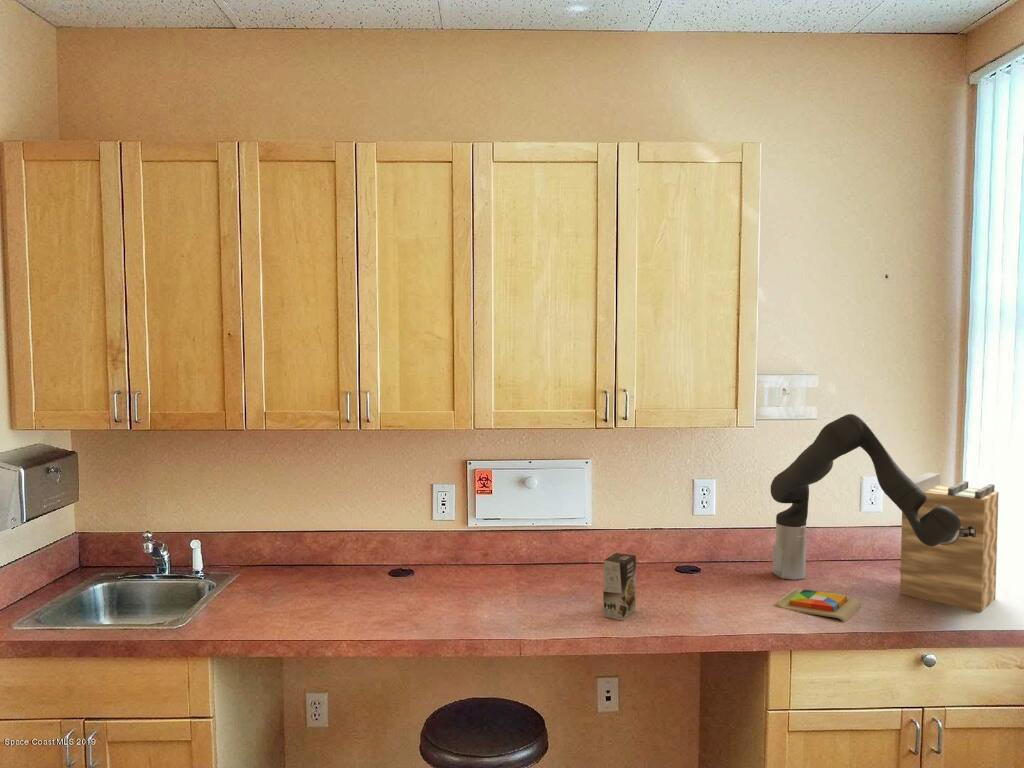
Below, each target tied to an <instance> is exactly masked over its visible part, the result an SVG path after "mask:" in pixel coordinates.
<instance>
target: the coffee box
mask: <svg viewBox="0 0 1024 768" xmlns="http://www.w3.org/2000/svg"><path fill="white" fill-rule="evenodd" d="M636 570H637V555H634V554H628V553H627V554H626V553H619V552H615V553H613V554H612V555H610V556H609V557H606V558H605V559H603V583H602V584H603V585H602V586H603V589H602V590H603V591H602V592H603V599H602V600H603V602H602V603H603V606H602V608H603V609H602V610H603V612H602V616H603V617H605V618H609V619H613V620H618V621H622V622H623V621H625V620H626V619H627V618H629V617H630V616H631V615H633V614H634V613H635V612H636V605H637V603H636V602H637V601H636V598H637V597H636V596H637V595H636V593H637V592H636V591H637V588H636V583H637V582H636V580H637V575H636V573H637V571H636Z"/></svg>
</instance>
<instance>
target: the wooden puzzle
mask: <svg viewBox="0 0 1024 768" xmlns="http://www.w3.org/2000/svg"><path fill="white" fill-rule="evenodd" d="M862 604H863V603H862V601H860V600H859V599H858V598H854V597H848V595H847V594H840V593H834V592H833V593H831V592H826V591H824V592H823V591H818V590H810V589H803V590H801V589H800V588H799V587H795V588H793V589H792V590H790V591H789V592H787V593H786V594H785V595H783V596H781V597H780V599H778V600H777V606H778V607H779V608H780V607H782V608H781V609H783V608H786V609H785V610H788V609H790V610H789V611H792V610H795V611H794V612H797V611H799V612H798V613H801V612H804V613H803V614H807V613H808V614H810V615H816V616H821V617H822V616H823V617H829V618H835V619H838V620H841V621H842V622H844V623H846V622H848V621H849V620H850V619H851V618H852V617H853V616H854V615H855V614H856V613H857V612H858V611H859V610H860V609H861V608H862V607H861V606H862ZM859 608H860V609H859ZM856 611H857V612H856ZM855 612H856V613H855Z"/></svg>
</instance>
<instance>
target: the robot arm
mask: <svg viewBox="0 0 1024 768" xmlns="http://www.w3.org/2000/svg"><path fill="white" fill-rule="evenodd" d="M858 448H862V450H864V452H865V453H867V455H868V456H869V457H870V459H871V461H872V464H873V468H874V471H875V474H876V478H877V482H878V485H879V487H880V489H881V490H882V491H883V493H884V494H885V495H886V496H887V497H888V498H889V499H890V501H892V503H894V504H895V506H896V507H897V508H898V509H899V510H900V511H901V513H902V512H903V513H904V515H905V516H906V518H907V520H908V521H909V523H910V525H911V527H912V529H913V531H914V533H915V534H916V536H917V538H918V539H919V540H920V541H921V542H922V543H923V544H925V545H928V546H936V545H938V544H941V545H950V544H953V543H954V542H956V541H957V540H958V539H961V538H964V537H965V538H968V537H969V536H971V537H977V536H976V529H975V527H972V526H969V527H967V528H963V527H962V526H961V522H960V519H959V517H958V516H957V514H956V513H955V512H954V511H953V510H951V509H950V508H948V507H945V506H937V507H935V508H934V509H932V510H931V511H930V512H928V513H927V514H926V515H924V516H923V517H921V518H920V519H919V518H918V510H919V509H920V507H921V506H922V505H923V504H924V503H925V501H926V499H927V497H926V495H925V493H924V492H923V491H922V490H921V489H920V488H919V487H918V486H917V485H916V484H915V483H914V482H913V481H912V480H911V478H910V477H909V476H908V475H907V474H906V473H905V472H904V471H903V470H902V469H901V468H900V466H899V465H898V464H897V463H896V462H895V460H894V459H893V457H892V456H891V455H890V454H889V452H888V451H887V450H886V448H885V447H884V445H883V443H881V441H880V440H879V438H878V437H877V436H876V434H875V433H874V432H873V430H872V429H871V427H870V426H868V424H867V423H866V422H865V421H864V420H863V419H862V417H860V416H859V415H857V414H854V413H849V414H845V415H843V416H841V417H839V418H837V419H835V420H833V421H831V422H829V423H827V424H826V425H824V426H823V428H822V429H821V430H820V432H819V433H818V435H817V436H816V438H815V440H814V441H813V442H812V443H811V444H810V445H808V447H807V448H805V449H804V450H803V451H802V452H801V453H800V454H799V455H798V456H797V458H796V459H795V460H794V461H793V462H792V463H791V464H790V465H788V466H787V468H785V469H784V470H783V471H781V472H779V473H778V474H777V475H776V476H775V477H773V479H772V480H771V481H772V482H771V484H770V495H771V497H772V499H773V500H774V501H775V502H776V503H780V504H791V505H790V507H788V508H787V509H785V510H783V511H780V512H778V513H777V514H776V516H775V544H773V546H772V574H774V575H775V576H776V577H779V578H781V579H786V580H797V579H798V580H803V579H805V578H806V568H807V567H806V565H807V564H806V563H807V560H806V559H807V558H806V557H807V555H806V554H807V520H808V513H809V498H810V485H812V484H816V483H817V482H820V481H821V480H822V479H824V478H825V477H826V476H827V475H828V474H829V473H830V472H831V470H832V468H833V467H834V461H835V460H836V459H838V458H840V457H841V456H844V455H846V454H848V453H850V452H852V451H854V450H856V449H858Z"/></svg>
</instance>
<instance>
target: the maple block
mask: <svg viewBox="0 0 1024 768" xmlns="http://www.w3.org/2000/svg"><path fill="white" fill-rule="evenodd" d="M924 493H925V495H926V497H927V499H926V501H925V503H924V504H923V505H922V506H921V507H920V509H919V510H918V518H919V519H920V518H921V517H923V516H924V515H926V514H927V513H928V512H930V511H931V510H932V509H934V508H935V507H937V506H945V507H948V508H950V509H951V510H953V511H954V512H955V513H956V514H957V516H958V517H959V519H960V522H961V526H962V527H963V528H967V527H969V526H972V527H975V529H976V536H977V537H971V536H969V537H968V538H965V537H964V538H961V539H958V540H957V541H956V542H954V543H953V544H950V545H941V544H938V545H936V546H928V545H925V544H923V543H922V542H921V541H920V540H919V539H918V538H917V536H916V534H915V533H914V531H913V529H912V527H911V525H910V523H909V521H908V520H907V518H906V516H905V515H904V513H903V512H902V511H901V538H900V539H901V542H900V544H901V545H900V549H901V550H900V586H899V588H900V591H899V594H900V595H903V596H908V597H913V598H915V599H916V598H917V599H921V600H924V601H925V600H926V601H928V602H929V601H931V602H935V603H939V604H942V603H943V605H948V606H952V607H955V608H956V607H957V608H960V607H961V609H964V608H966V609H965V610H969V609H970V610H969V611H973V610H975V611H974V612H978V611H979V613H982V612H983V611H984V610H985V609H986V608H987V607H988V606H989V605H991V603H992V602H993V601H995V599H996V595H997V593H996V590H997V588H996V587H997V556H998V526H999V525H998V522H999V521H998V520H999V519H998V518H999V517H998V516H999V491H995V484H993V483H992V484H991V483H990V484H987V485H985V486H983V487H982V488H976V487H975V488H974V487H969V481H966V480H963V481H961V482H959V483H956V484H954V485H953V486H951V485H943V484H940V485H939V486H936V487H934V488H932V489H929V490H927V491H925V492H924Z"/></svg>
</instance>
